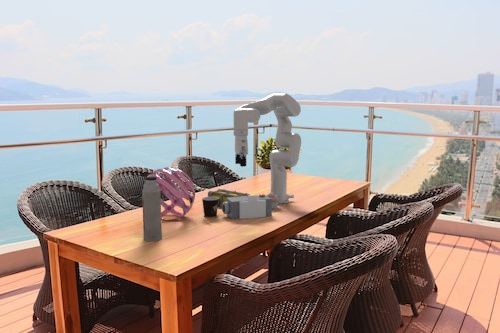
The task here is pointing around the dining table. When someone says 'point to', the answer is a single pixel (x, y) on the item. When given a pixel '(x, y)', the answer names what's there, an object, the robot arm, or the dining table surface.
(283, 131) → the robot arm
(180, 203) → the spiral basket
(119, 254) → the dining table surface
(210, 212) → the coffee mug
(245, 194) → the cage light
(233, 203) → the block
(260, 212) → the side door
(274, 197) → the cupcake
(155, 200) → the thermos bottle
